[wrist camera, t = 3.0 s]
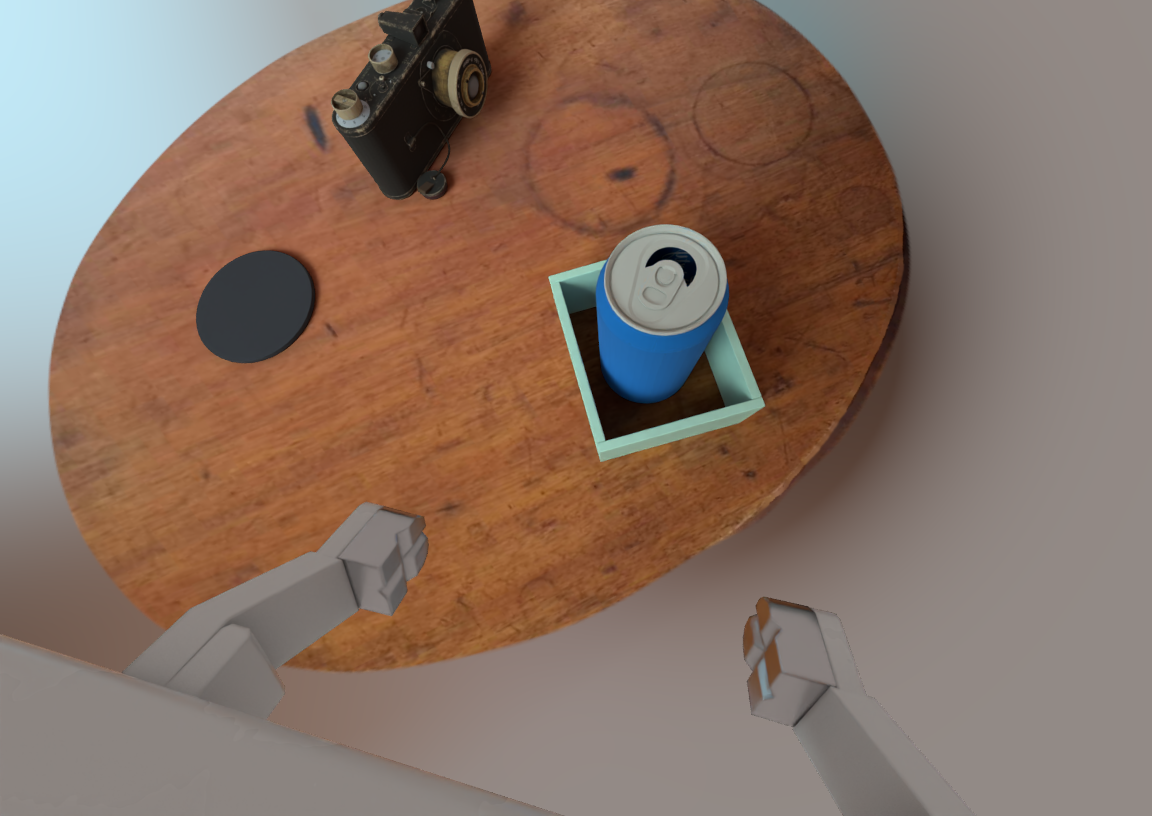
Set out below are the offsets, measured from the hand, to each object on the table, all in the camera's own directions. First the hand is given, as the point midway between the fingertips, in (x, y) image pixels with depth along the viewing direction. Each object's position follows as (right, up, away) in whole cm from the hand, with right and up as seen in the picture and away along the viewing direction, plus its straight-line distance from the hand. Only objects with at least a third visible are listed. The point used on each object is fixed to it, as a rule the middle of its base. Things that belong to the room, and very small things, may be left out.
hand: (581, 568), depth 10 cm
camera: (-11, +29, +27) cm, 41 cm away
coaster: (-27, +12, +25) cm, 38 cm away
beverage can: (+5, +7, +21) cm, 23 cm away
